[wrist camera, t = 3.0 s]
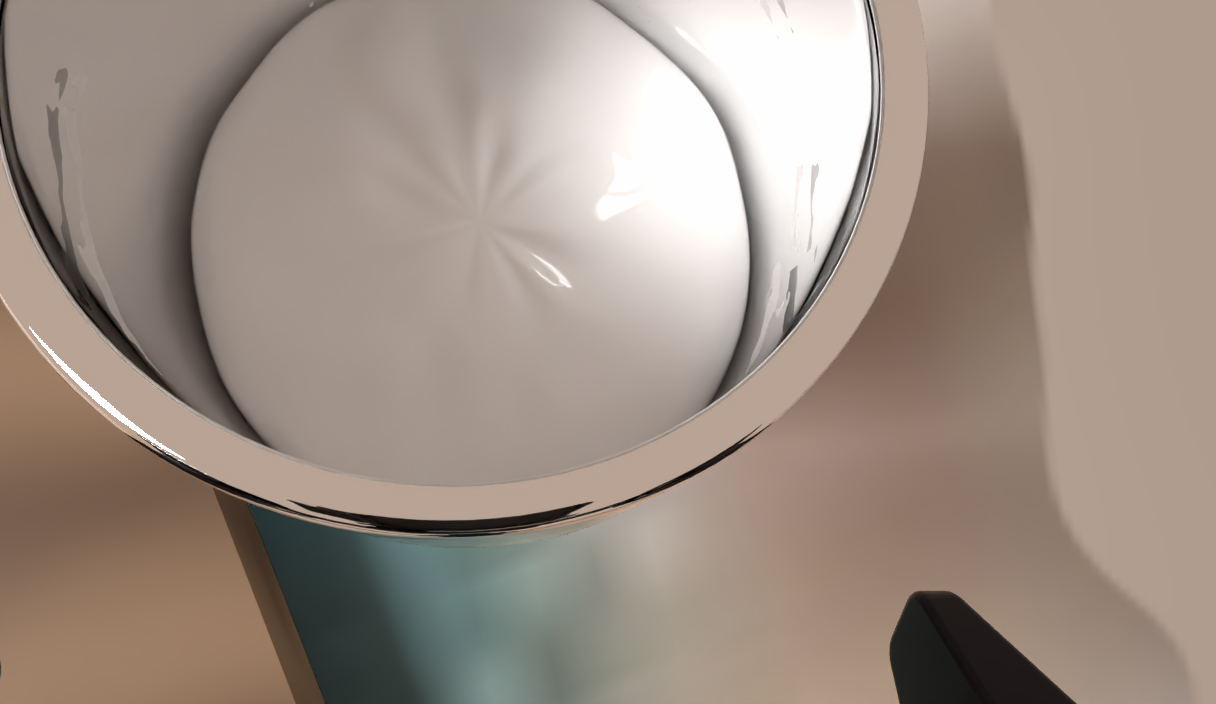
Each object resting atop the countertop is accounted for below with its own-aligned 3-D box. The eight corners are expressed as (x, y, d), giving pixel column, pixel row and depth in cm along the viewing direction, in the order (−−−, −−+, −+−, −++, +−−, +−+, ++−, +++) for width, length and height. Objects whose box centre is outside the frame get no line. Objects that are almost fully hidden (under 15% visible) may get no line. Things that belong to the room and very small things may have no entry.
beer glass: (634, 229, 22) (911, -368, 7) (647, 518, 20) (1017, 549, 6) (341, 229, 21) (-61, -451, 6) (337, 531, 19) (-176, 608, 5)
